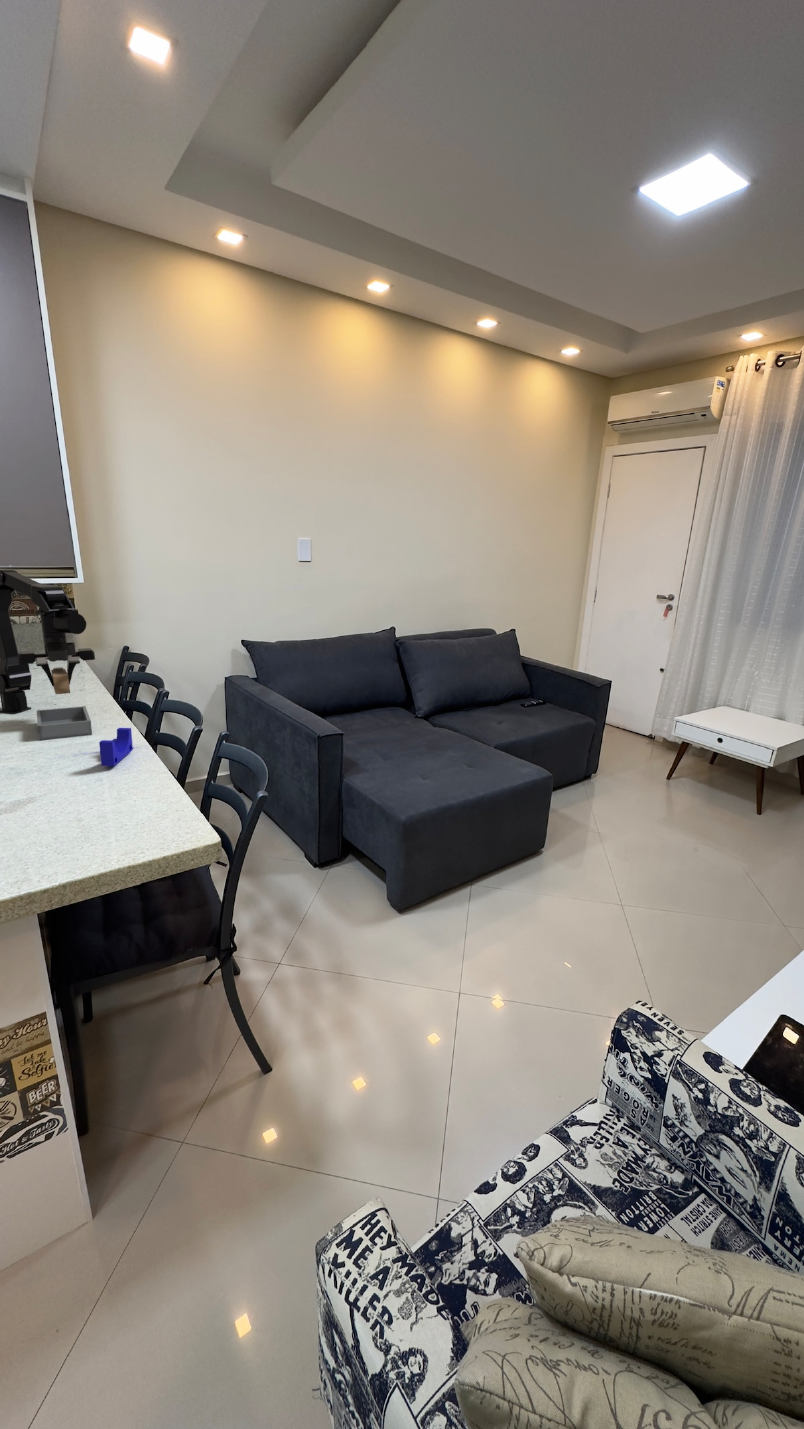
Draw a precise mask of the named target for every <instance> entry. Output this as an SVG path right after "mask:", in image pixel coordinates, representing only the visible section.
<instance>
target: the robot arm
mask: <svg viewBox="0 0 804 1429" xmlns="http://www.w3.org/2000/svg"><path fill="white" fill-rule="evenodd" d="M15 592H19V593H21V594H23V595H24V596H28V597H29V599H30V601H31V603H32V604H34V605H35V606H36V607H37V608H38V609H37V610H36V611H35V612H34V613H35V615H37V616H40V624H41V631H42V632H41V633H42V637H43V646H44V653H35V651H34V650H28V651H20V652H19V651H18V645H17V642H16V638H15V637H16V636H15V634H14V628H13V626H12V621H11V617H10V613H9V610H10V607H11V605H12V603H13V594H14V593H15ZM86 629H87V621H86V618H85V617H84V616H83V615H82V614H80V613H79V610H78V609H77V608H75V607H74V604H73V603H72V601H71V600H70V599H69V597H68V595H67V594H66V592H65V590H64V589H63V587H61V586H58V585H54V584H45V583H42V582H38V581H36V580H34V579H32V578H29V577H28V576H25V575H23V574H21V573H19V572H18V571H16V570H13V569H0V705H1V709H0V713H5V714H14V715H15V714H18V713H21V712H25V711H28V710H31V709H32V706H28V700H27V699H28V698H27V696H26V692H25V691H30V690H31V685H32V673H31V670H30V665H33V664H34V663H35V666H36V667H40V668H42V670H43V671H44V673H45V674H46V676H47V678H48V680H49V682H50V684H51V686H52V687H53V686H54V682H53V678H52V673H51V669H50V664H49V662H51V663H54V662H56V661H57V662H58V661H59V662H61V661H63V662H66V672H67V674H68V679H69V686H70V685H71V680H72V677H73V673H74V670H75V667H76V666H77V664H78V665H79V664H80V663H81V661H80V659H81V660H82V661H94V660H96V657H95V656H96V654H95V650H93V649H92V648H91V647H86V648H85V647H83V648H77V651H76V646H75V642H72V641H71V642H68V640H67V634H70V635H71V634H72V635H81V634H82V633H84V632H85V630H86ZM48 661H49V662H48Z"/></svg>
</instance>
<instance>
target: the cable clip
mask: <svg viewBox="0 0 804 1429" xmlns="http://www.w3.org/2000/svg"><path fill="white" fill-rule="evenodd" d="M132 736H133V735H132V727H118V728H116V738H113V739H111V740H107V739H103V740H102V739H101V740H100V741H99V742H98V744H99V754H100V765H101V767H109V766H110V767H114V766H116V765H117V764H118V763H119V762H120V761H122V760H123V759H124V758H125V757H127V756H128V755H129V754H130V753H131V752H133V750H134V748H133V746H134V745H133V737H132Z"/></svg>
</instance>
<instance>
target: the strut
mask: <svg viewBox="0 0 804 1429" xmlns="http://www.w3.org/2000/svg"><path fill="white" fill-rule="evenodd" d="M50 671H51V675H52V678H53V682H54V686H52V687H53V690H54V693H55V695H63V694H65V695H66V694H71V689H70V685H69V679H68V674H67V669H66V668H64V667H59V666H58V667H53V668H52V669H50Z"/></svg>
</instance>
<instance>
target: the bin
mask: <svg viewBox="0 0 804 1429" xmlns="http://www.w3.org/2000/svg"><path fill="white" fill-rule="evenodd" d="M36 720H37V731H38V732H37V733H38V739H39V741H47V740H48V741H49V740H55V739H56V740H57V739H68V738H75V737H76V738H77V737H82V736H83V737H84V736H86V737H87V736H91V735H93V729H92V728H93V727H92V720H91V718H90V715H89V712H88V709H87V707H86V705H82V706H72V707H61V708H49V709H39V710H36Z"/></svg>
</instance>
